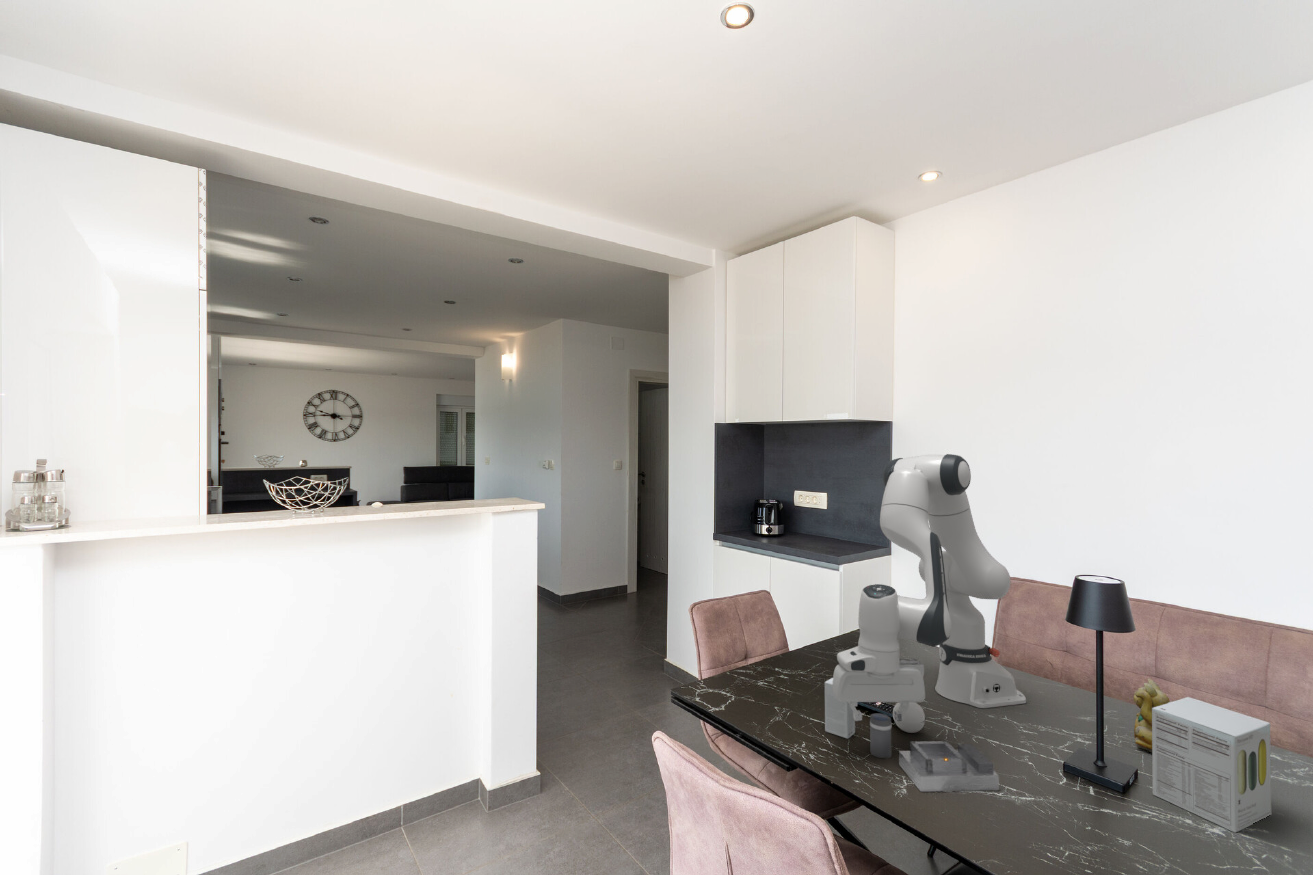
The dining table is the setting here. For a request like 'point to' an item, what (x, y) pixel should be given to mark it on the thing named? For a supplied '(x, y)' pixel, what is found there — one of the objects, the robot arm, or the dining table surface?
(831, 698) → the skincare box
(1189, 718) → the supplement box
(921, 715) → the white egg
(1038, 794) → the dining table surface
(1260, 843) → the dining table surface
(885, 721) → the lens
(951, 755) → the grey holder dock
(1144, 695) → the decorative figurine
